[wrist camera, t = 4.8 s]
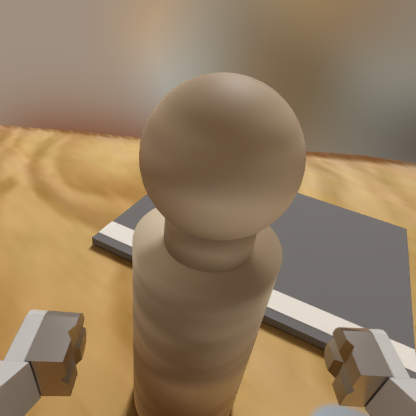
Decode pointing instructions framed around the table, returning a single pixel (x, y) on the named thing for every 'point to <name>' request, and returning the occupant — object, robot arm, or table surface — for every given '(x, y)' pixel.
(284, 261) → the mat
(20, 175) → the table surface
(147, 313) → the skittle
